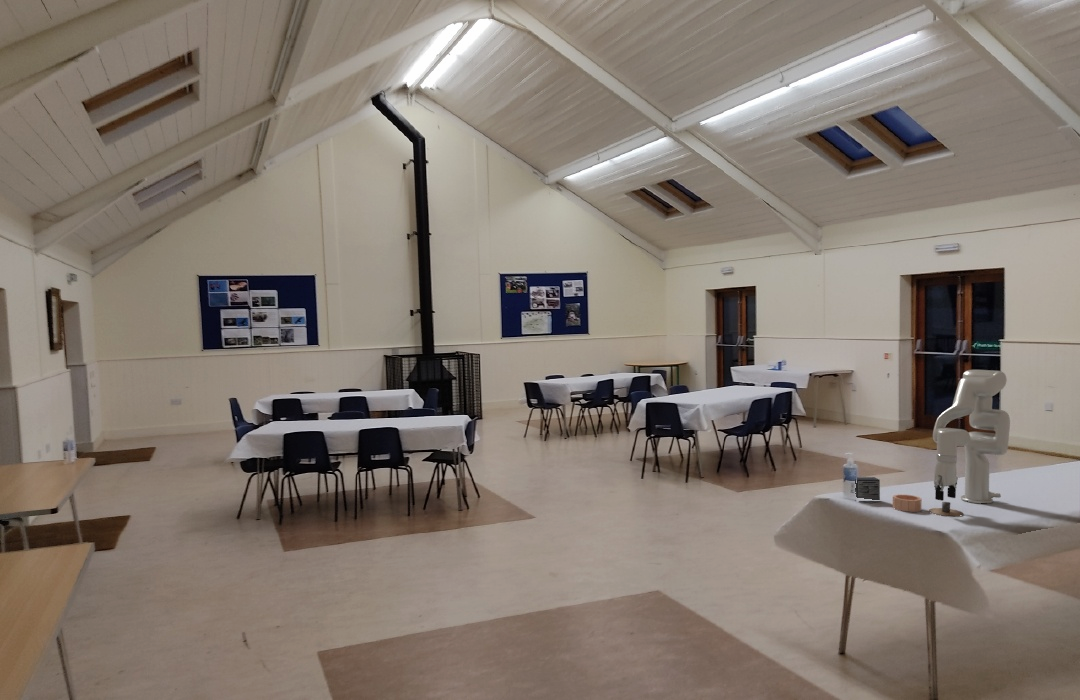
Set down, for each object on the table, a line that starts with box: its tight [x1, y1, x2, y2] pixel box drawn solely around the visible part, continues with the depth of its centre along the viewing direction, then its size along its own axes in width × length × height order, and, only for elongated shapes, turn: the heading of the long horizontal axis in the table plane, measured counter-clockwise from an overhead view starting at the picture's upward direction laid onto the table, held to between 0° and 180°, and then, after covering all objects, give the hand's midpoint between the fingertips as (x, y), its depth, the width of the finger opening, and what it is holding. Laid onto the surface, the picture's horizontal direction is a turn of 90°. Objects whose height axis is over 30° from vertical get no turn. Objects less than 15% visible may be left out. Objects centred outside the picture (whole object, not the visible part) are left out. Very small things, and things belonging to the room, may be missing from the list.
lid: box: [928, 501, 964, 517], centre depth 316 cm, size 13×13×5 cm
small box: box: [855, 476, 881, 501], centre depth 339 cm, size 11×6×10 cm, turn 88°
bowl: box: [892, 494, 923, 513], centre depth 323 cm, size 11×11×5 cm
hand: (945, 498), depth 316 cm, fingers open, 9 cm apart
